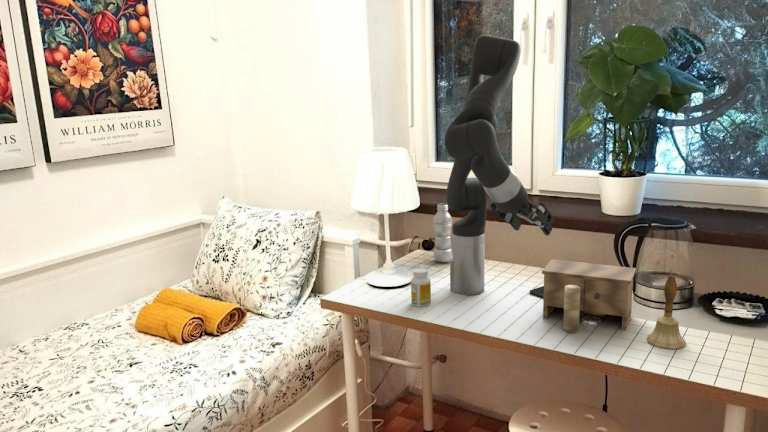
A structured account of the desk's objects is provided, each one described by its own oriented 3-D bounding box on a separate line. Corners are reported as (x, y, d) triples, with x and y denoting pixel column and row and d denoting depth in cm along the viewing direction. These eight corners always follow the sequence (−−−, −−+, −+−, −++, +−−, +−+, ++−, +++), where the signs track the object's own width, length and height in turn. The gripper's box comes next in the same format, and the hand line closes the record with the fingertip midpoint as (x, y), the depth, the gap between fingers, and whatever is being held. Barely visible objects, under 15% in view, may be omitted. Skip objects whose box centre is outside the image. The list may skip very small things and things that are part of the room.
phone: (545, 285, 178) (589, 298, 167) (545, 288, 179) (589, 302, 167) (527, 291, 174) (570, 305, 162) (527, 294, 174) (570, 309, 162)
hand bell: (652, 331, 146) (657, 268, 142) (690, 340, 140) (695, 274, 137) (641, 343, 139) (645, 277, 136) (680, 352, 134) (686, 284, 131)
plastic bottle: (432, 264, 205) (432, 206, 201) (434, 258, 211) (433, 202, 207) (452, 264, 204) (451, 206, 200) (453, 259, 210) (452, 202, 206)
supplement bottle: (433, 301, 170) (432, 268, 168) (428, 308, 165) (427, 274, 163) (414, 299, 172) (413, 266, 170) (409, 306, 167) (408, 272, 165)
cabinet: (540, 319, 155) (541, 271, 152) (550, 304, 165) (551, 259, 162) (627, 332, 145) (630, 281, 143) (633, 316, 155) (636, 268, 153)
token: (580, 325, 151) (580, 320, 151) (583, 319, 155) (583, 314, 155) (598, 328, 149) (598, 323, 149) (601, 321, 153) (601, 317, 153)
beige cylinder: (552, 330, 148) (553, 287, 146) (565, 309, 161) (567, 269, 159) (595, 337, 143) (597, 292, 141) (605, 315, 156) (607, 274, 154)
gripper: (538, 177, 131) (566, 221, 140) (486, 172, 141) (515, 213, 151) (524, 205, 128) (553, 247, 138) (471, 198, 139) (502, 238, 148)
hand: (533, 229), depth 144 cm, fingers open, 8 cm apart
